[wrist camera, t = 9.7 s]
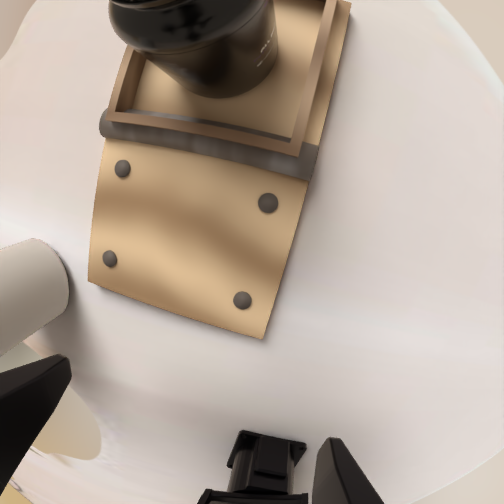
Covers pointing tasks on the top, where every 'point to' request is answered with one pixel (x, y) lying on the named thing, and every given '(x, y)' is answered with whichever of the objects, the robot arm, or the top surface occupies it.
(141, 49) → the supplement bottle
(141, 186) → the hinge jig
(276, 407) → the top surface
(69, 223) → the top surface
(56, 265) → the can
